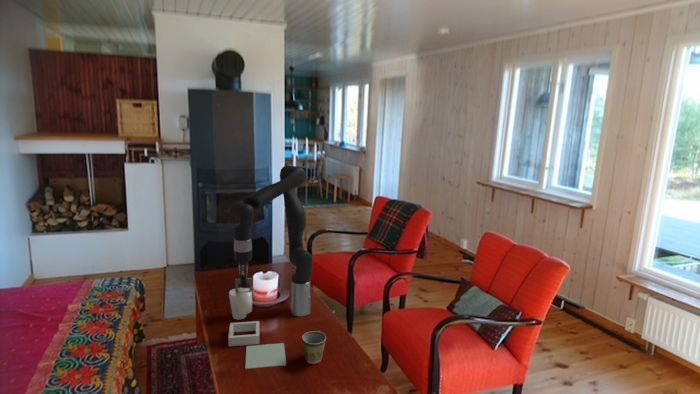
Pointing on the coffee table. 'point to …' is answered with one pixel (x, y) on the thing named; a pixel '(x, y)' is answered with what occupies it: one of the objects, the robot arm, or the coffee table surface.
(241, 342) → the frame
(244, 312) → the egg with flat handle
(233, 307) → the foam cup
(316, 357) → the ceramic cup
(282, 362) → the mat
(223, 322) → the coffee table surface
